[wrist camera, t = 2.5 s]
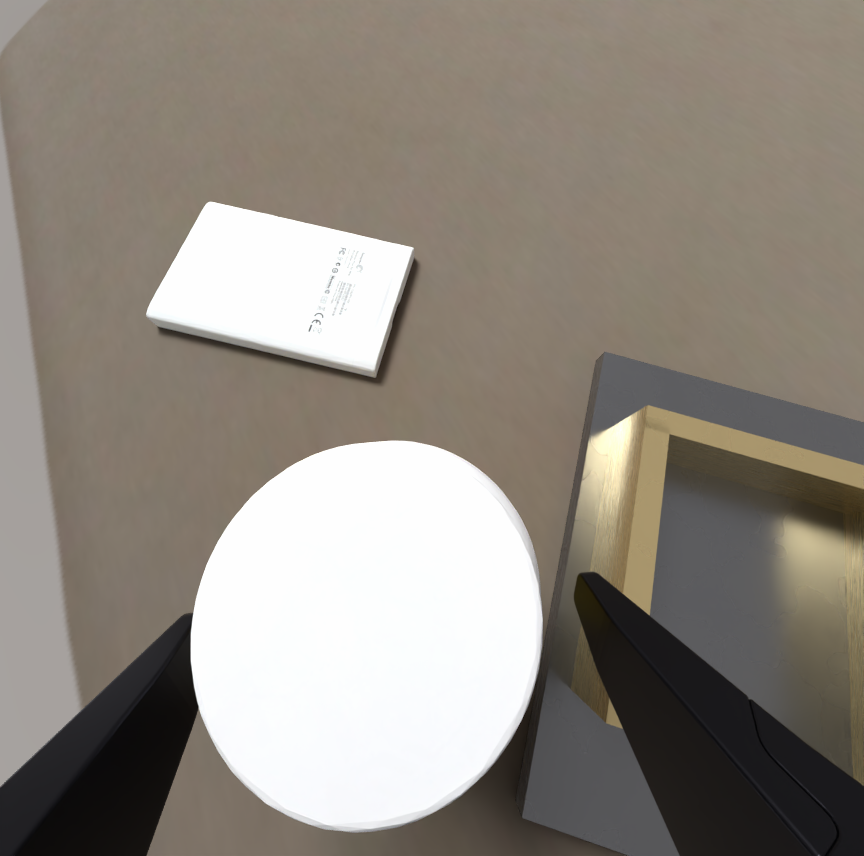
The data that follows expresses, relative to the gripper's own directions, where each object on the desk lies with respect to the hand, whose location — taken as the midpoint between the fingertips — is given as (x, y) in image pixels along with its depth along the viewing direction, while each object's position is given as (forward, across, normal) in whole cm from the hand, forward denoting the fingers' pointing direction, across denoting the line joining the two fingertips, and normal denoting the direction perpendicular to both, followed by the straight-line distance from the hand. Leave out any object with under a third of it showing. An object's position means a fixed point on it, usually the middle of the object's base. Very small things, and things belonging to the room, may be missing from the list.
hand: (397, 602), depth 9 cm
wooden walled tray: (+4, -14, +7) cm, 16 cm away
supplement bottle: (+6, 0, +6) cm, 8 cm away
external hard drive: (+18, +6, -5) cm, 19 cm away
